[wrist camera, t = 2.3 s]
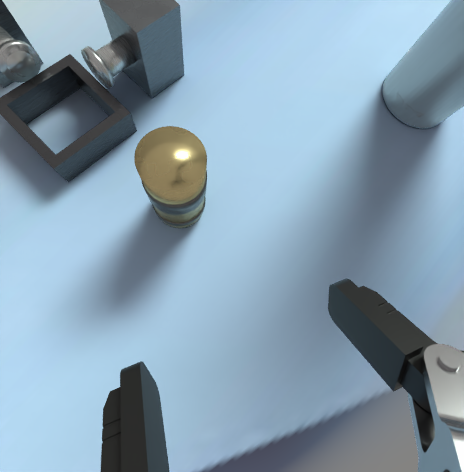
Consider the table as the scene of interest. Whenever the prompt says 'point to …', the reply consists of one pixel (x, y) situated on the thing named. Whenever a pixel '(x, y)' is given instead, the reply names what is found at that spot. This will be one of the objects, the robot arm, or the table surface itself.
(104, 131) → the shaft rig
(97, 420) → the table surface
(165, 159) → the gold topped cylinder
